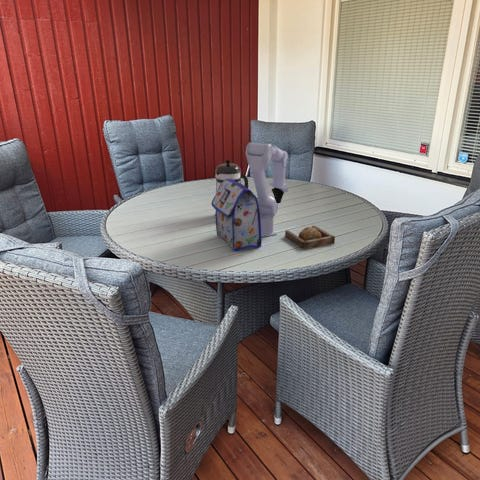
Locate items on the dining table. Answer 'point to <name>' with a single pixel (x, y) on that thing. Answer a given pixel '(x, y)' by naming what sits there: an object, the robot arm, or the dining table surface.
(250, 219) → the lunch bag
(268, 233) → the robot arm
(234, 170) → the coffee press
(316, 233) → the bread roll
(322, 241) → the roll holder
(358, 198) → the dining table surface
